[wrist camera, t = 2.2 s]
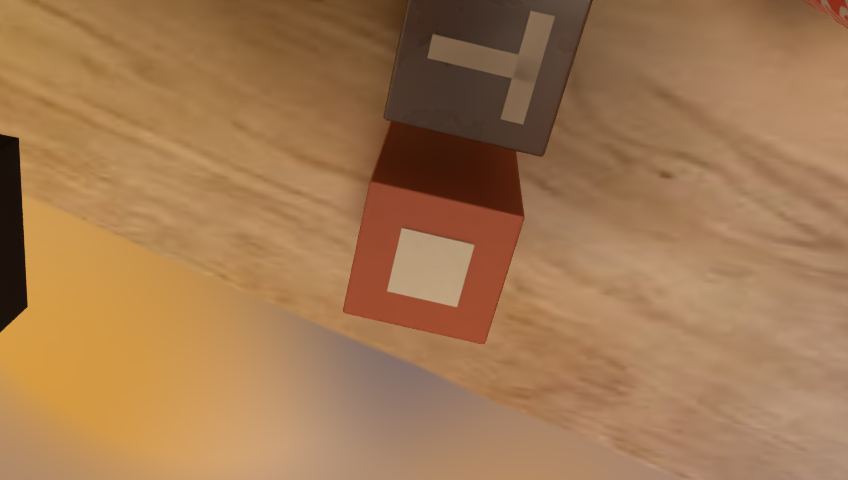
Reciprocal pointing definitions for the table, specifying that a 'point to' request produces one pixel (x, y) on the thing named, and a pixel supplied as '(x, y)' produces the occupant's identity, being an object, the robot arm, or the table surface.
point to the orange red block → (436, 234)
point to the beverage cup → (832, 9)
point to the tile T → (486, 68)
